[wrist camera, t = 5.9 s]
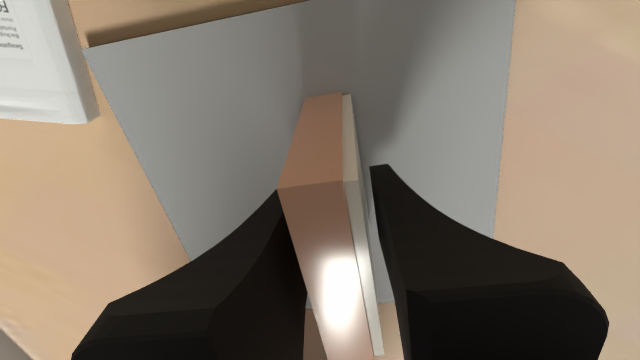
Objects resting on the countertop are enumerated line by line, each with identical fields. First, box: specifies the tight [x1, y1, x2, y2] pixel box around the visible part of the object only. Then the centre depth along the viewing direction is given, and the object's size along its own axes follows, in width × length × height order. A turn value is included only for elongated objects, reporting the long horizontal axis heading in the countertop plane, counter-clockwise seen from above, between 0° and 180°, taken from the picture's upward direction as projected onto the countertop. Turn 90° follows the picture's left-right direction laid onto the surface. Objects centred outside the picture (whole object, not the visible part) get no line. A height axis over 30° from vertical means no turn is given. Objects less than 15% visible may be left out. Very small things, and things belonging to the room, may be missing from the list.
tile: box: [277, 92, 384, 360], centre depth 10 cm, size 6×2×6 cm, turn 11°
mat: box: [81, 0, 516, 309], centre depth 14 cm, size 14×14×1 cm
